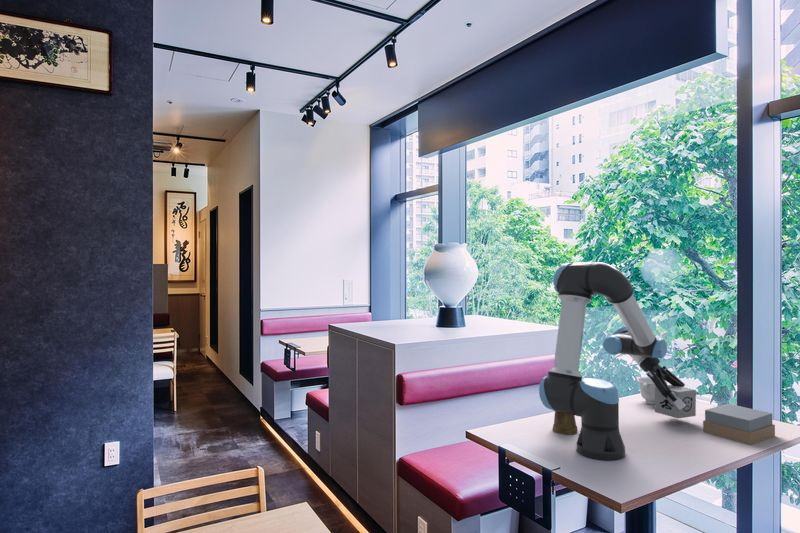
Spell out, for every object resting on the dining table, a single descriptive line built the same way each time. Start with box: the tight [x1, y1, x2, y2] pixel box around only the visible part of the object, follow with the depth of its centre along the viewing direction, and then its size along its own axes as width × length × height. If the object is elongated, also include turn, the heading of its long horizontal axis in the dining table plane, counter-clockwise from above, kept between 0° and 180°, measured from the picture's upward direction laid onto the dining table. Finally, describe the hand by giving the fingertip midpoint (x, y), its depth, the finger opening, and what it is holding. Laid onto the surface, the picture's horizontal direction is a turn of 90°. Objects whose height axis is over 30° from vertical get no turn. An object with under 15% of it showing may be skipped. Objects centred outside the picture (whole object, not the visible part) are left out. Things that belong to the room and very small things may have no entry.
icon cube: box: [654, 384, 697, 420], centre depth 197 cm, size 10×10×10 cm
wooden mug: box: [552, 411, 578, 435], centre depth 192 cm, size 9×14×18 cm, turn 128°
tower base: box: [702, 403, 776, 446], centre depth 182 cm, size 16×16×8 cm
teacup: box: [636, 376, 668, 405], centre depth 223 cm, size 12×15×10 cm
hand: (688, 405), depth 194 cm, fingers closed on icon cube, 10 cm apart
